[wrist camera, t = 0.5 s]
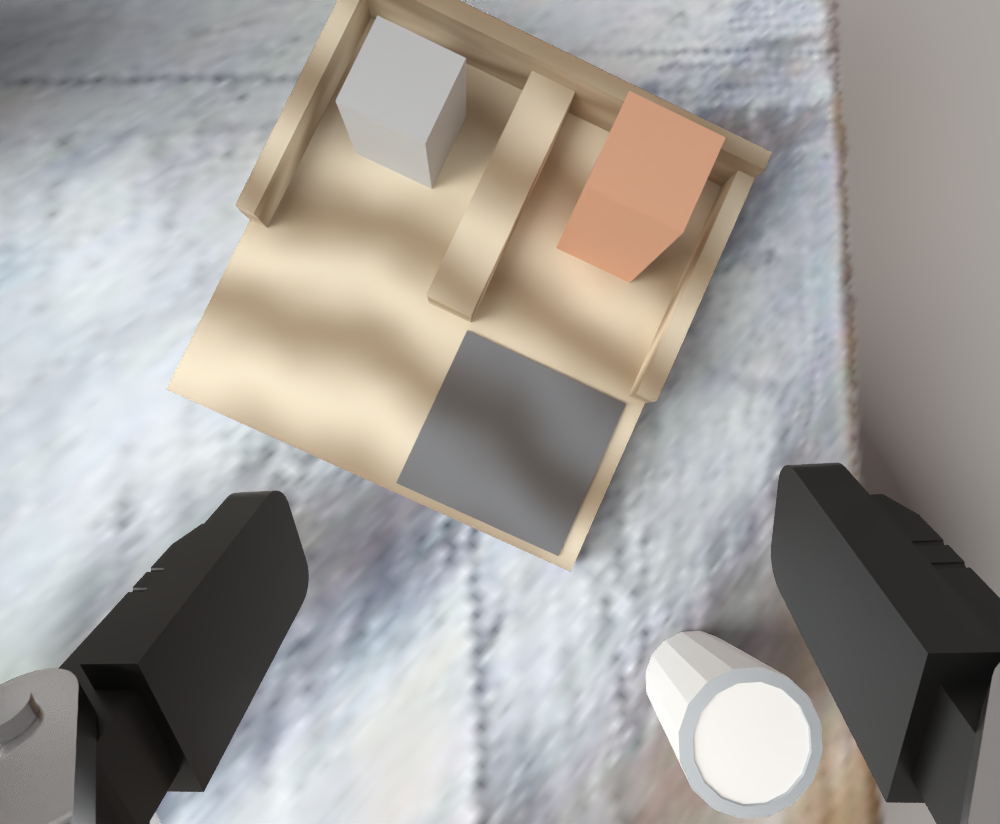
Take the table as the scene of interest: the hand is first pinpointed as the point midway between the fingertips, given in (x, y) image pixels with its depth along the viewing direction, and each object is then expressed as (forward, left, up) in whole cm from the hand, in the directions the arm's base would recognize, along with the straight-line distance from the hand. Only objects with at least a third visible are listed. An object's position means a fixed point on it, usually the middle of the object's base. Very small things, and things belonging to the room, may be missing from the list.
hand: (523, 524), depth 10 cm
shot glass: (+17, -2, -24) cm, 30 cm away
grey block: (-14, +11, -22) cm, 28 cm away
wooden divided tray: (-7, +7, -24) cm, 26 cm away
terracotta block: (-3, +14, -22) cm, 26 cm away
